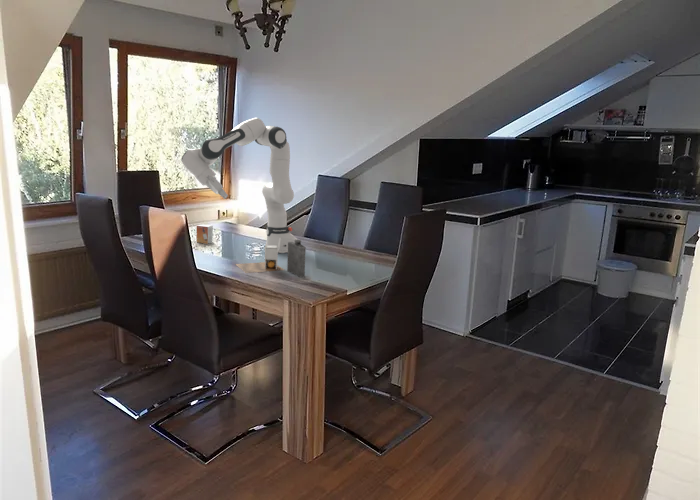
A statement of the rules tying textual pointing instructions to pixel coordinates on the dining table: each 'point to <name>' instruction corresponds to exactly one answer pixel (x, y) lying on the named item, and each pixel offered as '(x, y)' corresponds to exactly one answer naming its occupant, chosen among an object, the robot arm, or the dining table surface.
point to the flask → (296, 258)
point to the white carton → (271, 254)
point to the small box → (204, 234)
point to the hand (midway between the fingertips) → (226, 197)
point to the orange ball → (271, 264)
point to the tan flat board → (257, 267)
